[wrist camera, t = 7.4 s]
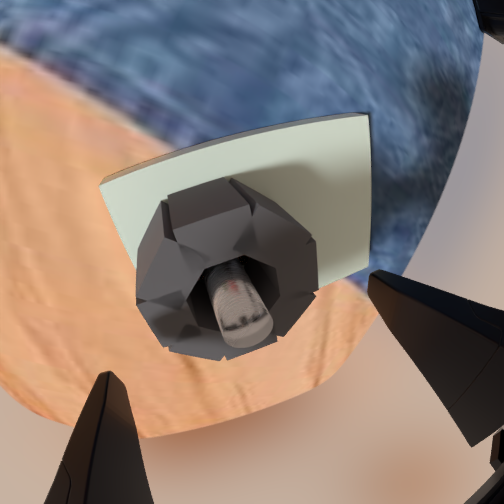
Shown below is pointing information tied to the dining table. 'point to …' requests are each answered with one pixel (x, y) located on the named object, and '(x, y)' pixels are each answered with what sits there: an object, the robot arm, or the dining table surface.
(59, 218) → the dining table surface
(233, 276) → the grey metallic cylinder
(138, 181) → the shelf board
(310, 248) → the grey octagonal ring
